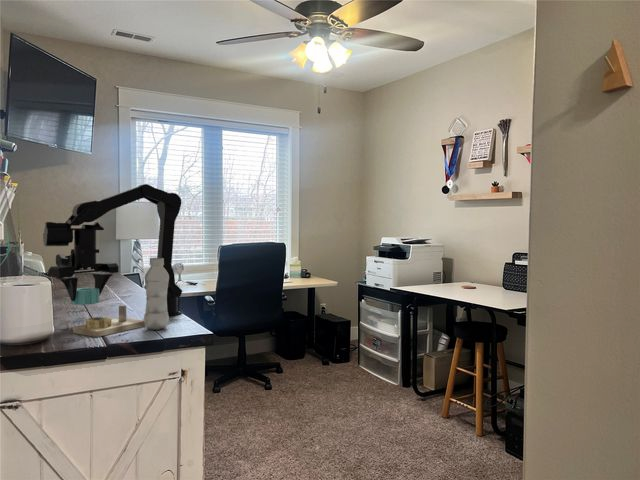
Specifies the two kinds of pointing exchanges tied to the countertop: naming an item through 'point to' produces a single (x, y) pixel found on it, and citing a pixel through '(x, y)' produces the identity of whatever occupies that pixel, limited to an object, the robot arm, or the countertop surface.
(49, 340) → the countertop surface
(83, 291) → the teal gear
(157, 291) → the plastic bottle
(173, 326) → the countertop surface
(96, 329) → the gear board
